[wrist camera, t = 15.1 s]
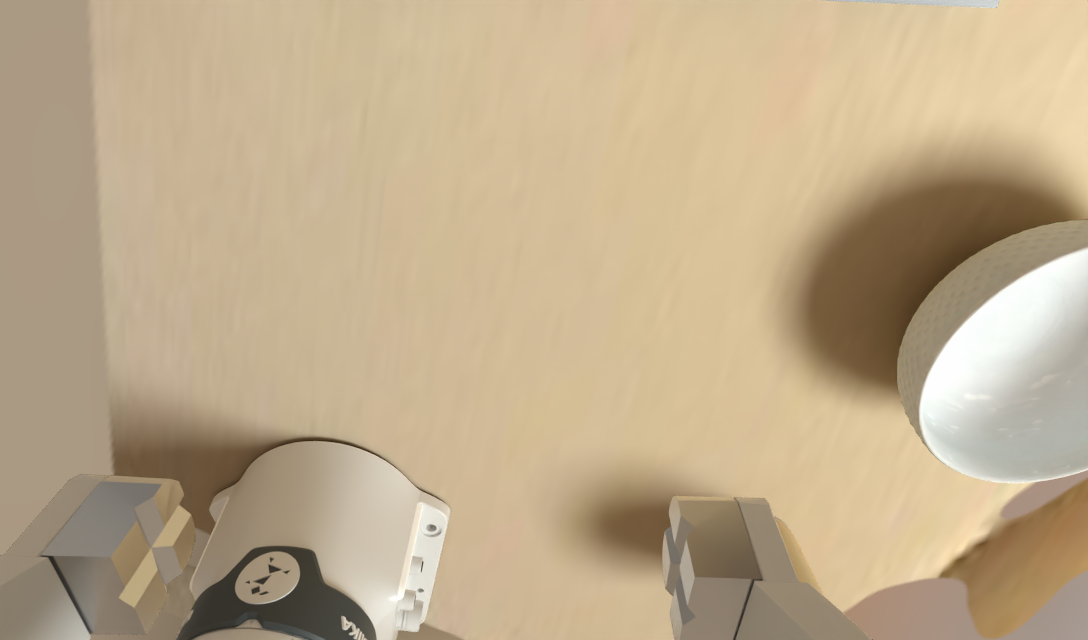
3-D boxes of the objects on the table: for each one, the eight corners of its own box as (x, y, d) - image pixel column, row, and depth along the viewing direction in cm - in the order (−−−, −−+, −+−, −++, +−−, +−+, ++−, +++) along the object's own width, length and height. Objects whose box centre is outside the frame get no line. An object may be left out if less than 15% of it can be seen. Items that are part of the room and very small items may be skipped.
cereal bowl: (1001, 442, 48) (1066, 516, 42) (815, 367, 45) (856, 436, 39) (1204, 252, 40) (1321, 311, 34) (996, 144, 37) (1084, 187, 31)
